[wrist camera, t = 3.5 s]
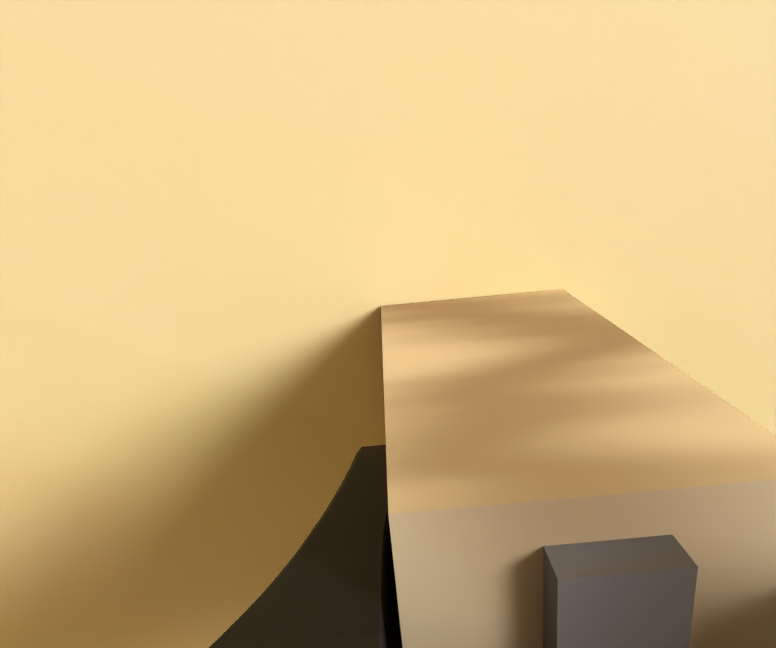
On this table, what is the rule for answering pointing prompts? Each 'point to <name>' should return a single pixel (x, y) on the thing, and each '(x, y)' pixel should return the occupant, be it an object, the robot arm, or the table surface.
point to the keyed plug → (568, 485)
